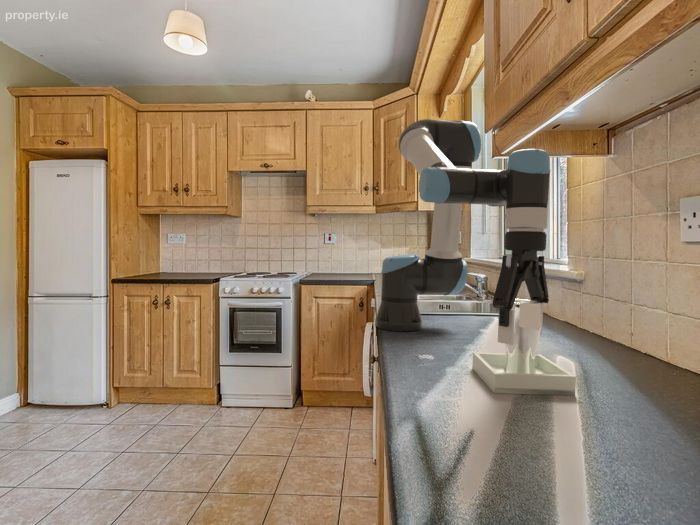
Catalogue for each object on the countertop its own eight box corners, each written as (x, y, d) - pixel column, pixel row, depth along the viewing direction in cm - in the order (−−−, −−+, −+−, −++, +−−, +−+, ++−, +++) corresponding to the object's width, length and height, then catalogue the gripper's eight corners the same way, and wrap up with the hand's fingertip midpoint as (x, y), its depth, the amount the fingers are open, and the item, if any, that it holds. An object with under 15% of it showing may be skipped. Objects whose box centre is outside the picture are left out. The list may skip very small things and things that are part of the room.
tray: (472, 368, 89) (472, 352, 89) (539, 370, 89) (540, 354, 88) (494, 393, 74) (494, 374, 74) (575, 395, 74) (576, 376, 74)
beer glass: (535, 372, 84) (538, 300, 83) (541, 383, 77) (545, 304, 77) (499, 368, 86) (502, 298, 85) (502, 379, 79) (505, 302, 79)
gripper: (532, 232, 91) (528, 327, 92) (475, 228, 74) (471, 344, 75) (568, 232, 86) (563, 333, 87) (516, 227, 69) (511, 352, 70)
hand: (520, 338), depth 81 cm, fingers open, 13 cm apart
